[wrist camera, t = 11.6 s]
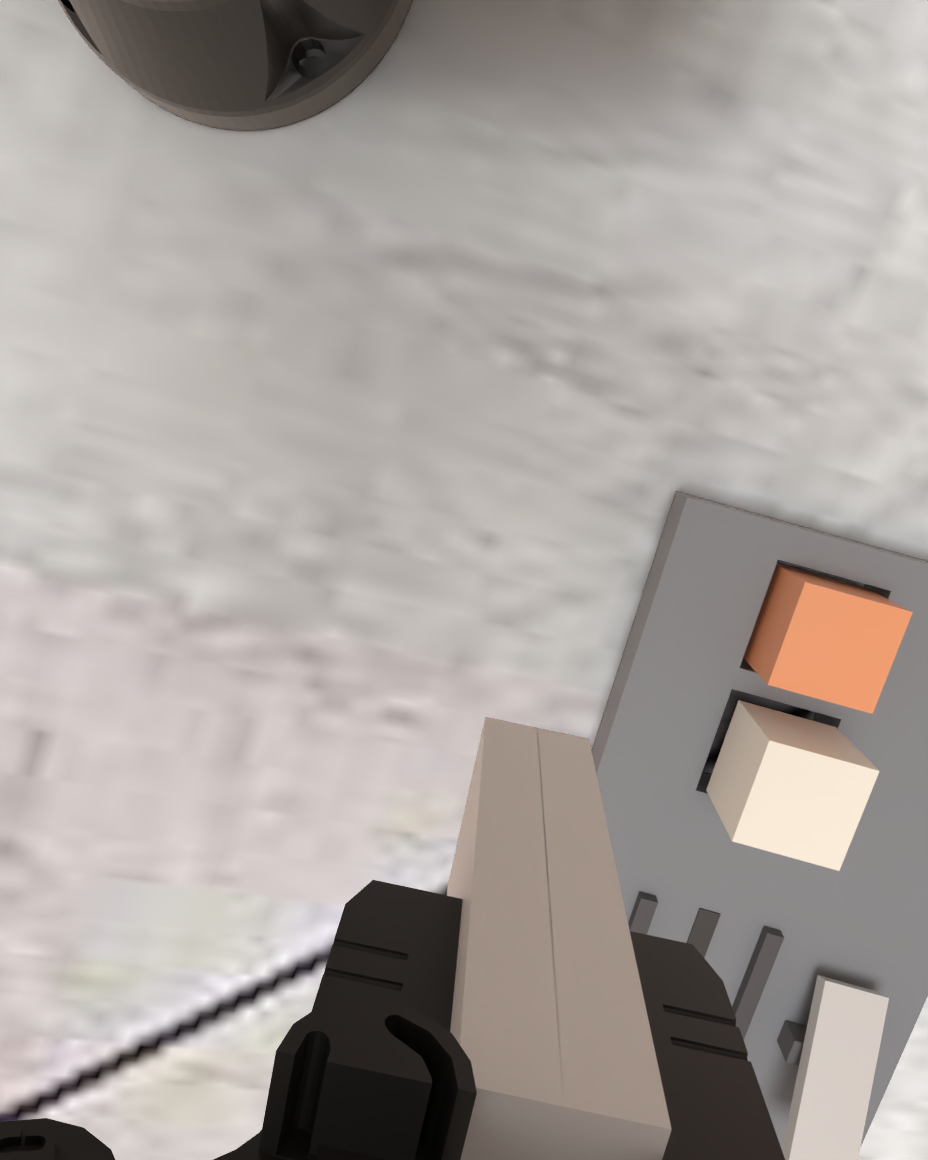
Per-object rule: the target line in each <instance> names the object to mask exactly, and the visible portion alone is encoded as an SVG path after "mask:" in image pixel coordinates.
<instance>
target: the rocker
mask: <svg viewBox="0 0 928 1160" xmlns="http://www.w3.org/2000/svg"><path fill="white" fill-rule="evenodd" d="M888 1001H889V998H888V997H887V996H885V995H884V994H882V993H881V992H878V991H874V990H870V989H867V988H863V987H860V986H856V985H852V984H849V983H845V982H841V981H838V980H834V979H831V978H827V977H823V976H820V975H817V980H816V985H815V990H814V995H813V1000H812V1005H811V1009H810V1014H809V1019H808V1024H807V1029H806V1034H805V1039H804V1044H803V1049H802V1054H801V1058H800V1063H799V1068H798V1073H797V1078H796V1083H795V1088H794V1093H793V1098H792V1102H791V1107H790V1112H789V1117H788V1122H787V1127H786V1132H785V1137H784V1142H783V1147H782V1152H783V1155H784V1158H785V1160H858V1157H859V1152H860V1147H861V1142H862V1137H863V1131H864V1126H865V1121H866V1116H867V1111H868V1105H869V1100H870V1095H871V1090H872V1085H873V1079H874V1074H875V1069H876V1064H877V1059H878V1053H879V1048H880V1043H881V1038H882V1033H883V1027H884V1022H885V1017H886V1012H887V1007H888Z"/></svg>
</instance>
